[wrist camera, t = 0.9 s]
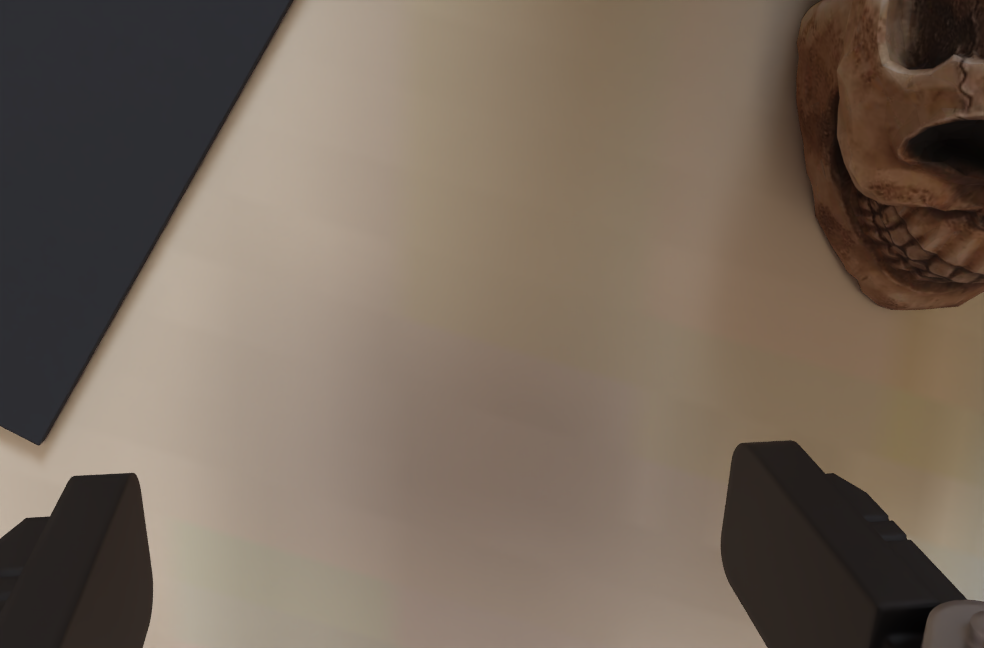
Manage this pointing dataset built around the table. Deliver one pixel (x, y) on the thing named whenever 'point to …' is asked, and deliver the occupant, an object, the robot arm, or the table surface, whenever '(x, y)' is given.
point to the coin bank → (897, 143)
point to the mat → (99, 165)
